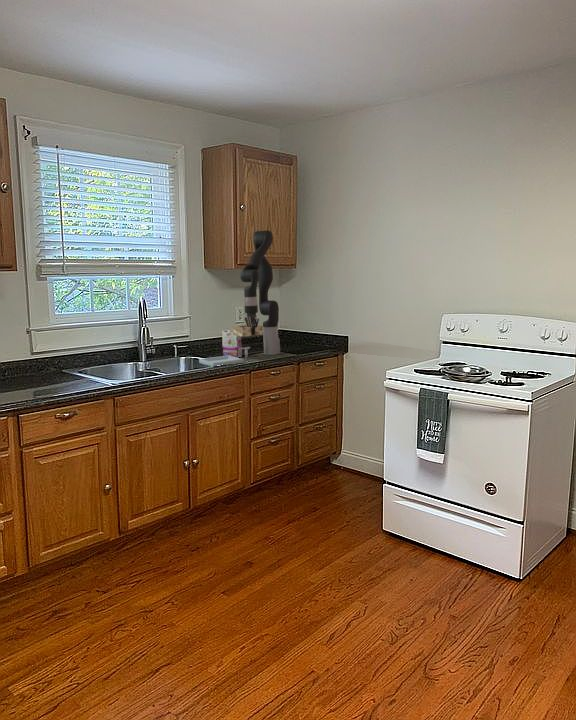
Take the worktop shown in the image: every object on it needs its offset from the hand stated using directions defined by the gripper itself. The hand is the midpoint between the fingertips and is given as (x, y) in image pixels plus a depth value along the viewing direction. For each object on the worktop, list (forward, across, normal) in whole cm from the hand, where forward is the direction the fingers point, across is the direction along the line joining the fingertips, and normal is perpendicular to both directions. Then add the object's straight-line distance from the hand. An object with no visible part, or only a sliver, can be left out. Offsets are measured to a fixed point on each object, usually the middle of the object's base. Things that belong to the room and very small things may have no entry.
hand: (252, 334), depth 352 cm
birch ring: (+1, +6, 0) cm, 6 cm away
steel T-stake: (+15, +9, 0) cm, 18 cm away
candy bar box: (+16, +21, +3) cm, 26 cm away
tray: (+15, +6, +18) cm, 24 cm away
